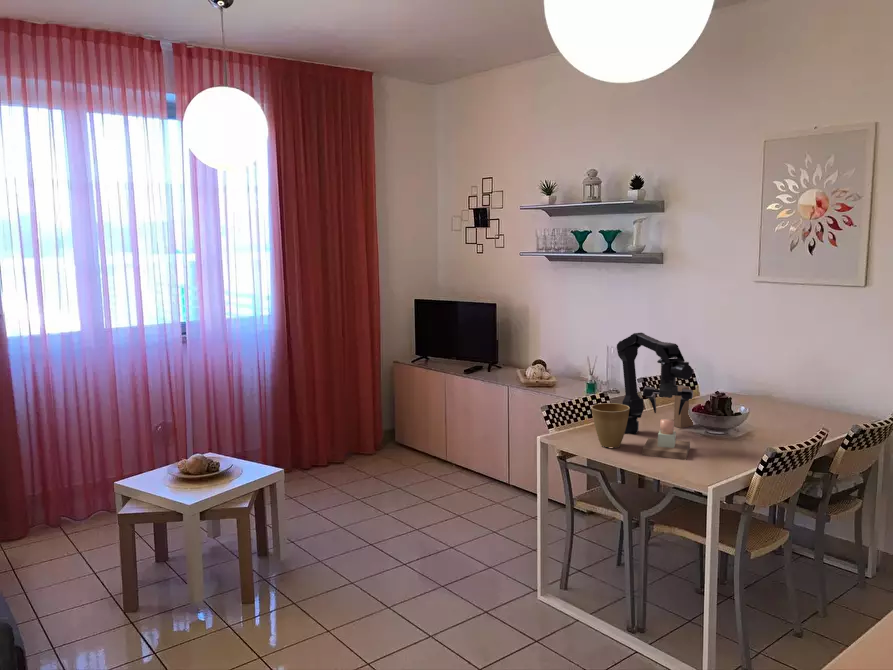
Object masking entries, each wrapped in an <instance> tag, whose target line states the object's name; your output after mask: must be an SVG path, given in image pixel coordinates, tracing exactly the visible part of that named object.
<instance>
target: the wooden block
mask: <svg viewBox="0 0 893 670" xmlns="http://www.w3.org/2000/svg"><path fill="white" fill-rule="evenodd" d="M683 389H690V386H686V385H682V384H681V385H678V391H682V390H683ZM673 399H674V400H673V401H674V402H673V403H674V405H673V408H674V409H673V420H674V427H676V428H679V429H684V428H688V427H689V426H690V427H694V426H693V422H692V420H691V419H690V417H689V415H688V410H689V411H690V400H689V401H685V403H684V405H683V408H682V410H681V413H680V415H679V407H680V400H681V396H674V398H673ZM690 427H689V428H690Z"/></svg>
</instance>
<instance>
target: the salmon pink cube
mask: <svg viewBox="0 0 893 670" xmlns="http://www.w3.org/2000/svg"><path fill="white" fill-rule="evenodd" d="M674 427H675V426H674V419H672V418H661V419H660V425H659V431H660V433H662V434H667V435H670V434H673V433H674V431H675V430H674V429H675V428H674Z"/></svg>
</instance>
